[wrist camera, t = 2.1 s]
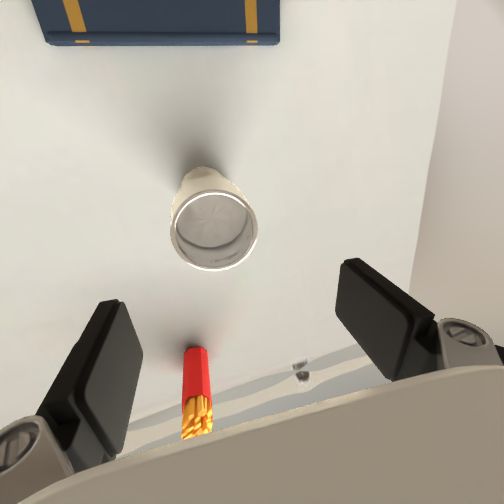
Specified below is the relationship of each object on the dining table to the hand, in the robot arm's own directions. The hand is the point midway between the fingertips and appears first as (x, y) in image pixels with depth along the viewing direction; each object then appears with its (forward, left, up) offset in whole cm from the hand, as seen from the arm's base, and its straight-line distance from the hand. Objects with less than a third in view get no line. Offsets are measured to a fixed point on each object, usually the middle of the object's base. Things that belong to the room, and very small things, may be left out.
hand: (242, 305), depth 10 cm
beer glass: (0, 0, -24) cm, 24 cm away
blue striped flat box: (-1, +18, -24) cm, 30 cm away
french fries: (-6, -30, -24) cm, 39 cm away
